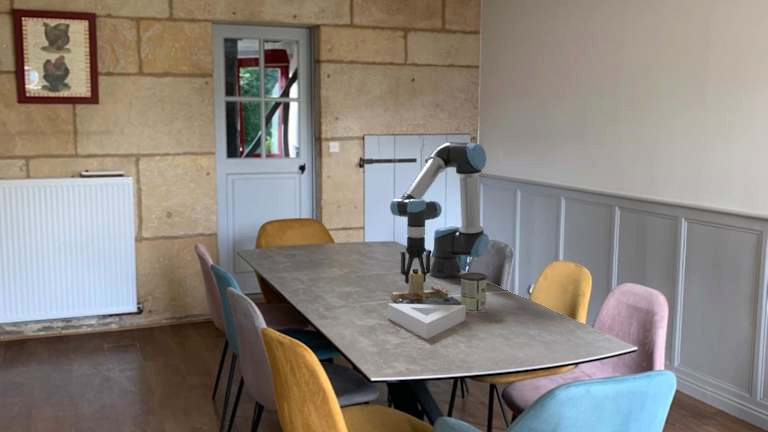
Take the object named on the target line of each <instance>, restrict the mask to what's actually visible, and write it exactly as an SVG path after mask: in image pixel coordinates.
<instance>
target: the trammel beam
mask: <svg viewBox="0 0 768 432" xmlns="http://www.w3.org/2000/svg"><path fill="white" fill-rule="evenodd" d="M424 294H425V295H426V298H440V297H446V300H448V296H449V293H448V290H447V289H444V288H443V287H441V286H439V285H431V287H430V289H428V290H427V289H426V290H425V289H424ZM390 296H391V297H390V298H391V301H392V302H396V300H399V299H402V300H411V299H423V297H421V296H420V295H419V294H417V293H414V294H412V293H411V292H409V291H396V292H395V291H394V292H391V295H390Z"/></svg>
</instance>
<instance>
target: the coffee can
mask: <svg viewBox="0 0 768 432" xmlns="http://www.w3.org/2000/svg"><path fill="white" fill-rule="evenodd" d="M460 277H461V279H460V280H461V284H460V302H461V305H466V313H474V314H477V313H478V314H479V313H483V312H485V311H486V310H487V309H486V308H487V278H488V274H484V273H481V272H465V273H461V276H460Z"/></svg>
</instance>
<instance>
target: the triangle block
mask: <svg viewBox="0 0 768 432" xmlns="http://www.w3.org/2000/svg"><path fill="white" fill-rule="evenodd" d="M386 305H387V309H386V310H387V311H386V313H387V314H386V316H387V318H386V319H389V320H391V322H393V323H396V324H397V325H399V326H401V327H402V328H405V329H407V330H408V331H410V332H413V333H414V334H416V335H418V336H420V337H422V338H423V339H425V340H427V339H428V340H429V339H430V338H432V337H433V336H436V335H438V334H440V333H442V332H444V331H446V330H448V329H450V328H452V327H454V326H456V325H458V324H460V323H462V322H464V321H466V313H467V312H466V305H428V304H396V303H387V304H386Z"/></svg>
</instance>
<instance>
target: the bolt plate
mask: <svg viewBox="0 0 768 432" xmlns="http://www.w3.org/2000/svg"><path fill="white" fill-rule="evenodd" d="M395 304H428V305H461V300H458V299H457V298H455V297H453V296H452V295H448V300H446V297H440V298H425V301H423V299H411V300H402V299H399V300H396V301H395Z"/></svg>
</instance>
